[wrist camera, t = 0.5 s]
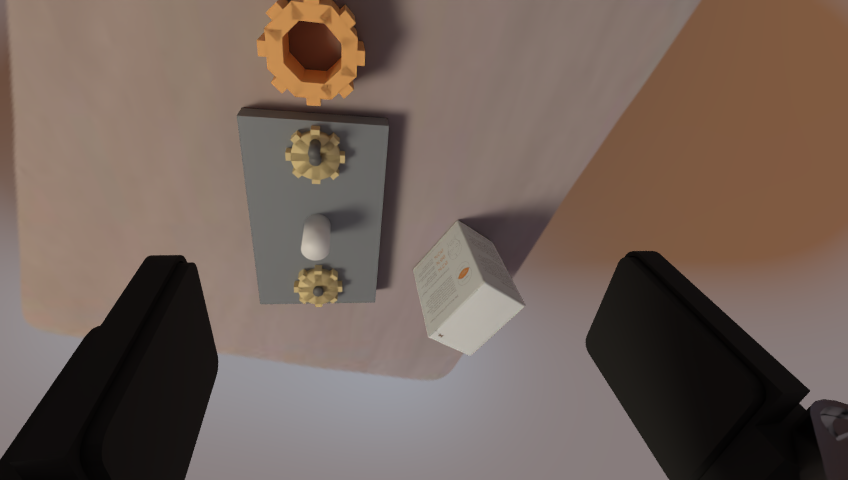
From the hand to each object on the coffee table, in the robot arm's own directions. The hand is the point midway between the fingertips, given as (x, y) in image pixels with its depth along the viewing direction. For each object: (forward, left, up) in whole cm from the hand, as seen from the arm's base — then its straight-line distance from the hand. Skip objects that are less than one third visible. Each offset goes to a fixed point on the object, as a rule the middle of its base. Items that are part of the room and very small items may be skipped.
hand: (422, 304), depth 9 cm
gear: (0, -4, -30) cm, 30 cm away
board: (+15, -4, -30) cm, 34 cm away
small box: (+20, +11, -30) cm, 38 cm away
